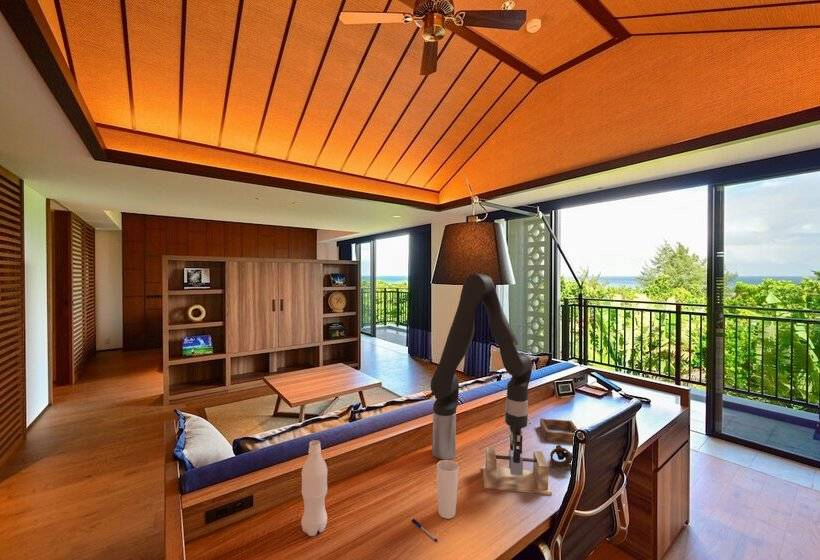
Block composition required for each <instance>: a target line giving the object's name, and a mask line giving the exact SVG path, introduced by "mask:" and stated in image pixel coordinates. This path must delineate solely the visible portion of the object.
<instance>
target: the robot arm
mask: <svg viewBox="0 0 820 560" xmlns="http://www.w3.org/2000/svg"><path fill="white" fill-rule="evenodd" d="M479 302H481V303H482V305H483V306H484V308H485V310H486V311H485V312H486V313H487V318H488V325H489V328H490V331H491V334H492V336H493V338H494V340H495V342H496V345H497V346H498V349H499V354H500V358H501V361H502V365H503V368H504V369H505V370H506V372H507V373H508V374H509V375H510V376H511V379H510V380H509V381H508V382H507V386H506V388H507V389H506V402H505V413H504V414H505V415H504V418H505V419H504V421H505V424H506V425H507V426H509V431H508V434H509V439H510V443H509V450H513V462H514V463H520V454H522V455H523V430H522V429H524V428H526V427H527V426H528V415H529V414H528V413H529V404H528V403H529V402H528V397H529V385H530V381H531V377H532V372H533V361H532V360H531V357H530V356H529V355H528V354H527V353H523V352H520V353H518V352H519V351H518V350H517V346H518V343H519V342H518V341H519V340H518V338H517V337H516V335H515V333H514V331H513V329H512V327H511V325H510V323H509V321H508V318H507V317H506V314H505V312H504V310H503V307H502V304H501V302H500V298H499V296H498V293H497V289H496V285H495V284H494V282H493V280H492V278H491V276H488V275H486V274H483V273H471V274H469V275H468V276H467V277H466V278H465V279H464V281H463V284H462V288H461V292H460V296H459V301H458V305H457V309H456V311H455V314H454V317H453V320H452V322H451V325H450V329H449V330H448V331H449V332H448V335H447V338H446V341H445V344H444V347H443V350H442V352H441V353H442V354H441V357H440V360H439V362H438V365H437V367H436V368H435V369H436V370H435V372H434V373H433V376H432V378H431V380H430V384H429V385H430V390H431V393H432V395H433V396H435V397H436V399H435V400H434V401H435V402H434V403H433V404H432V405H433V407H432V409H433V411H432V434H431V436H432V437H431V456H432V457H435V458H437V459H439V460H451V459H453V458H454V457H456V448H457V447H456V446H457V445H456V442H457V441H456V440H457V439H456V438H457V437H456V436H457V431H456V429H457V408H458V404H459V393H460V391H459V390H460V384H459V382H460V381H459V378H458V375H457V374H456V372H457V369H458V367H459V365H460V363H461V362H462V361H463V359H464V357H465V356H466V354H467V353H468V351H469V348H470V347H471V344H472V341H473V338H474V335H475V330H476V329H475V325H476V324H475V323H476V322H475V315H476V310H477V308H478V305H479ZM517 447H518V448H517Z"/></svg>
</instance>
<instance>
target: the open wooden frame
mask: <svg viewBox="0 0 820 560" xmlns="http://www.w3.org/2000/svg"><path fill="white" fill-rule="evenodd" d="M539 428H540V431H541V433H542V435H543V437H544V439H545V440H546V442H556V443H566V444H567V443H568V444H574V443H573V437H574V433H575V431H576V430H579V429H578V428H577V426H576V425H575V423H574V422H573V421H572V420H566V419H565V420H564V419H552V418H540V419H539ZM549 429H550V430H549ZM551 429H553V430H554V429H555V430H564V431H565V430H566V431H565V432H564V431H555V430H554V431H553V430H551ZM568 431H569V432H568Z"/></svg>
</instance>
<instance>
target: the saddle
mask: <svg viewBox="0 0 820 560" xmlns="http://www.w3.org/2000/svg"><path fill="white" fill-rule="evenodd" d="M508 456H510V458H511V460H508V468H510V474H512V475H522V476H523V470H524V469H523V468H524V461H523V458H524V456H523V453H522V454H520V463H514V462H513V450H511V449H509V450H508Z"/></svg>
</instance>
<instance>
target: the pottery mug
mask: <svg viewBox="0 0 820 560" xmlns="http://www.w3.org/2000/svg"><path fill="white" fill-rule="evenodd" d="M554 454H556V456H557V459H558V460H559V461H557V460H555V459H554V458H553V457H554ZM572 454H573V453H572V452H571V451H569V450H568V449H567V448H565V447H562V446H561V445H560V444H557V445H556V446H555V448H554V449H552V450H551V452H550V454H549V455H550V459H549V463H550V466H551V468H555V469H559V470H561V469H562V470H563V469H566V468H567V469H571V465H570V464H571V461H572ZM564 459H565V460H564Z"/></svg>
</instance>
